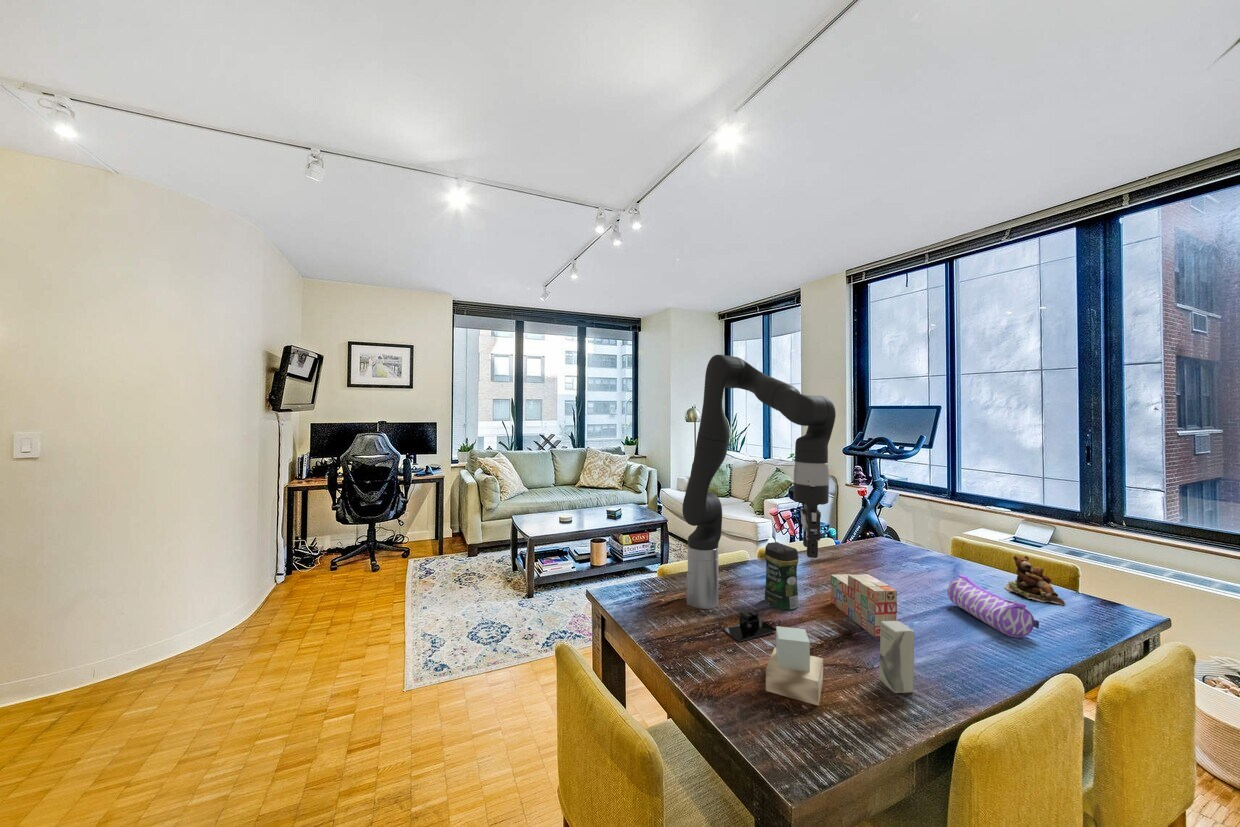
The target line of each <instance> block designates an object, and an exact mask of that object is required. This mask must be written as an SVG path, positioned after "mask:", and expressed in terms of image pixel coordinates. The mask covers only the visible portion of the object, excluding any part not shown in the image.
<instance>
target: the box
mask: <svg viewBox="0 0 1240 827" xmlns="http://www.w3.org/2000/svg"><path fill="white" fill-rule="evenodd" d="M879 638H880V639H879V640H880V646H879V648H880V649H879V680H880V681H881V682H882V683H883V684H884V685H885V686H886V687H887V688H888V689H889V690H891V691H892V692H893V693H894V694H907V693H914V676H915V675H914V672H915V661H914V660H915V630H913V629H912V628H910V627H909V626H908V625H905V624H904V623H903V622H901V621H899V620H896V621H881V635H880V637H879Z"/></svg>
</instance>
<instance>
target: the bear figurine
mask: <svg viewBox="0 0 1240 827" xmlns="http://www.w3.org/2000/svg"><path fill="white" fill-rule="evenodd" d="M1012 558H1013V560H1014V562H1015V567H1016V568H1017V570H1016V575H1017V576H1016V579H1014V581H1012V580H1009V581H1008V582H1007V584H1006V585H1005V586H1004V588H1005V589H1006V591H1008V592H1009V593H1011V592H1013V593H1016V594H1019V595H1021V596H1023V597H1025V598H1027V599H1030V600H1031V599H1032V600H1033V601H1037V602H1040V603H1053V604H1058V605H1062V606H1066V602H1065V600H1064V599H1063V598H1061V597H1059V594H1058V593H1057V592H1056V591H1055V590H1054V588H1053V586H1052V585H1051V583H1052V578H1050V577H1049V576H1047V575H1045V574H1044V567H1039V566H1032V563H1031V561H1030V560H1029V559H1030V558H1029V556H1027V555H1025V556H1024V557H1018V556H1016V555H1015V556H1013V557H1012Z"/></svg>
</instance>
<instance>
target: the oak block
mask: <svg viewBox="0 0 1240 827" xmlns="http://www.w3.org/2000/svg"><path fill="white" fill-rule="evenodd" d="M823 682H824V659H823V658H821V657H818V656H814V655H810V672H807V671H799V670H791V669H783V668H779V666H778V661H777V655H776V646H775V647H774V648H773V651H772V653H771V655H770V658H769V660H768V663H767V665H766V667H765V692H769V693H772V694H776V695H779V696H783V697H787V698H790V699H794V700H797V701H800V702H805V703H807V704H811V705H814V706H815V705H816V706H819V705H820V704H819V703H820V701H821V700H820V699H821V693H822V690H823V689H822V688H823Z"/></svg>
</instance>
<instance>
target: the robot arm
mask: <svg viewBox="0 0 1240 827" xmlns="http://www.w3.org/2000/svg"><path fill="white" fill-rule="evenodd" d="M704 376H705V377H704V388H703V389H704V390H703V400H702V402H703V403H702V410H701V416H700V423H699V428H698V431H697V432H698V433H697V438H696V442H695V450H694V457H693V461H692V466H691V471H690V476H689V480H688V484H687V487H686V490H685V494H684V497H683V502H682V516H683V519H684V521H685V522H686V524H688V525H690V526H695V527H696V528H695V529H694V531H693V532H692V533H690V534H689V536H688V537H687V571H686V605H687V606H690V607H693V608H696V609H702V610H711V609H712V610H713V609H715V608H717V607H718V606H719V599H720V598H719V542H720V539H721V537H722V525H723V505H722V503H721V500H720V498H719V497H718V496H717V495H716V494H715V493H712V492H709V488H710V485H711V482H712V480H713V478H714V477H715V475H716V473H717V472H718V471H719V469H720V467H722V464H723V462H724V461H725V458H726V456H727V454H728V453H727V452H728V448H729V443H730V436H731V434H730V432H731V431H730V427H729V424H728V421H727V419H726V416H725V412H724V408H723V399H724V398H723V396H724V392H725V391H724V390H725V388H726V389H740V390H745V391H748V392H750V393H752V394H754V395H755V397H756V399H758V401H760V402H761V403H763V404H764V405H766V406H768V407H770V408H772V409H774V410H776V411H777V412H780V413H781V415H782V416H783V417H784V418H786V419H788V421H790V422H791V423H792V424H796V425H798V426H803V427H807V429H806V433H805V434H804V435H802V436H799V437H798V438H796V440H795V443H794V444H795V447H794V448H795V449H794V450H795V451H794V461H795V462H794V468H793V496H792V497H793V500H794V501H795V502H797V503H799V504H801V508H800V516H801V517H800V524H801V525H802V526H801V529H802V533H803V534H802V535H803V536H802V545H803V547H805V548H806V556H807V558H812V559H817V558H818V557H819V541H821V539H822V538H821V518H822V514H821V511H820V509H818V506H819V505H821V506H822V505H826V504H828V503H829V500H830V498H829V497H830V495H829V494H830V493H829V492H830V491H829V490H830V474H829V460H828V459H829V443H830V441H831V437H832V434H833V428H834V427H835V422H836V416H837V415H836V414H837V413H836V406H835V405H834V403H833V400H831V399H830V397H828V396H823V395H806V394H802V393H801V392H800V390H799V389H798V388H796V387H795V386H794V385H791V384H789V383H786V382H785V381H782V380H780V379H777V378H775V377H773V376H770V375H767V374H765V373H763V372H762V371H760V370H758V369H757V368H756V367H754V366H752V365H751V364H750V363H748V362H747V361H746V360H745V359H742V358H741V357H738V356H732V355H725V354H714V355H713V356H712V357H711V358H710V359H709V361H708V363H707V366H706V370H705V375H704Z"/></svg>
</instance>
